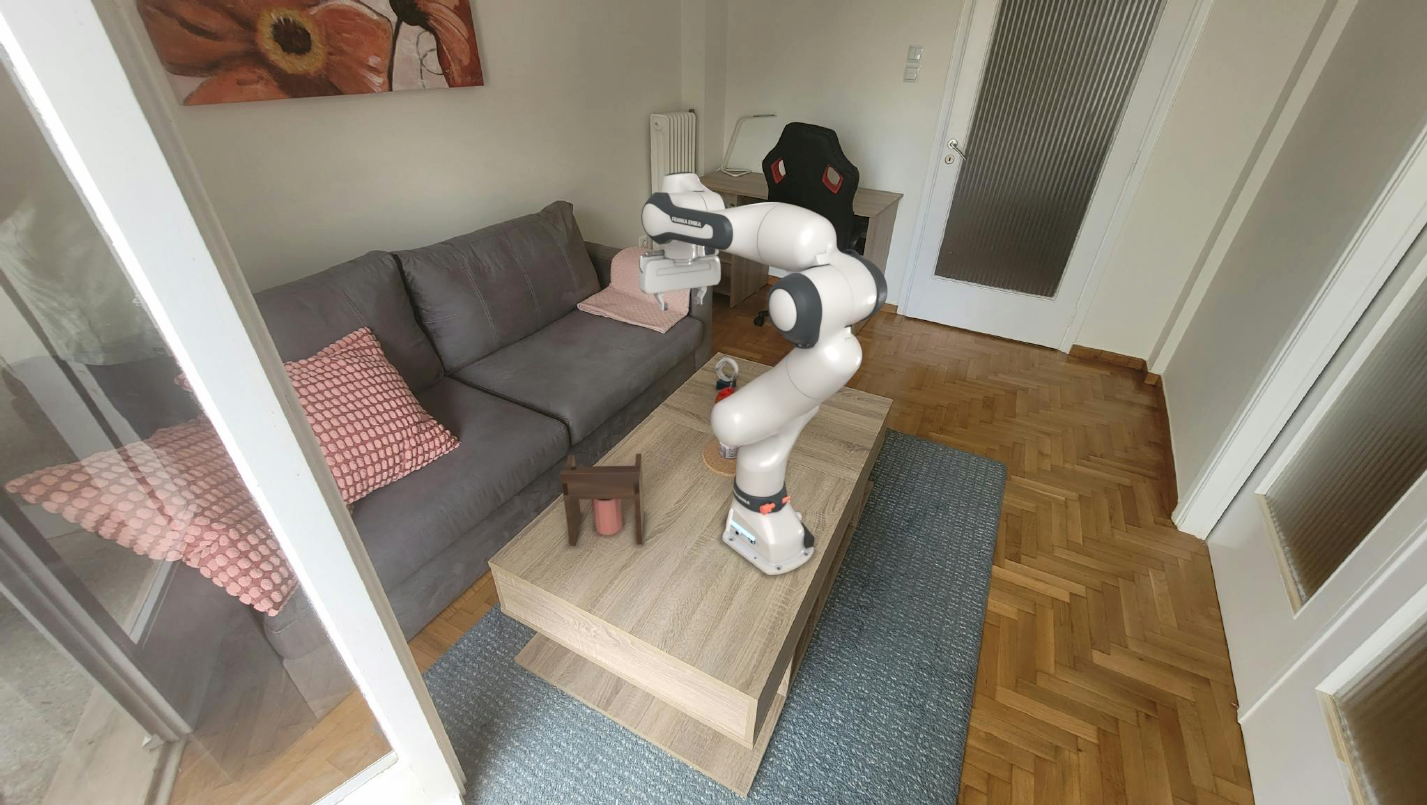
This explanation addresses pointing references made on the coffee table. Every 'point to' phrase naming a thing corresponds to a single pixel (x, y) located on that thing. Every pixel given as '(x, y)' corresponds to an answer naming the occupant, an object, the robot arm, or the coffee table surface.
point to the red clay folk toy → (725, 392)
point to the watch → (726, 379)
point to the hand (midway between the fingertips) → (680, 307)
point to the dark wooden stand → (601, 490)
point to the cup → (607, 515)
